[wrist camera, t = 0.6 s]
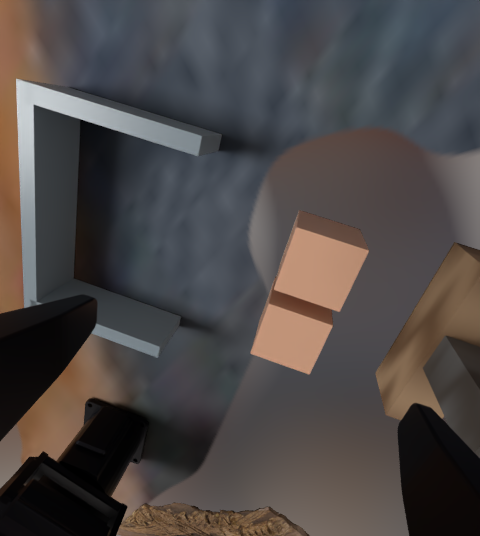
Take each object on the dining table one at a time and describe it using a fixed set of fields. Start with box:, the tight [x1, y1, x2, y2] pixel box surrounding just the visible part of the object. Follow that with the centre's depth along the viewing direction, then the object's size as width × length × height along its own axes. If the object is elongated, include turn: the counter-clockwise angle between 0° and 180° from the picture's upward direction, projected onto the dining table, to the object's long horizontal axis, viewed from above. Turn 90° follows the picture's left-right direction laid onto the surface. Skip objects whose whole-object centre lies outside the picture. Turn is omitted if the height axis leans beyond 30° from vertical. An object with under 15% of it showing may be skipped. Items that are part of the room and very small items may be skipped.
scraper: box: [375, 242, 480, 458], centre depth 18 cm, size 11×3×10 cm, turn 165°
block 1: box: [274, 210, 369, 312], centre depth 20 cm, size 4×4×4 cm
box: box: [16, 79, 222, 358], centre depth 22 cm, size 15×10×4 cm
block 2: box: [251, 276, 333, 374], centre depth 22 cm, size 4×4×4 cm
